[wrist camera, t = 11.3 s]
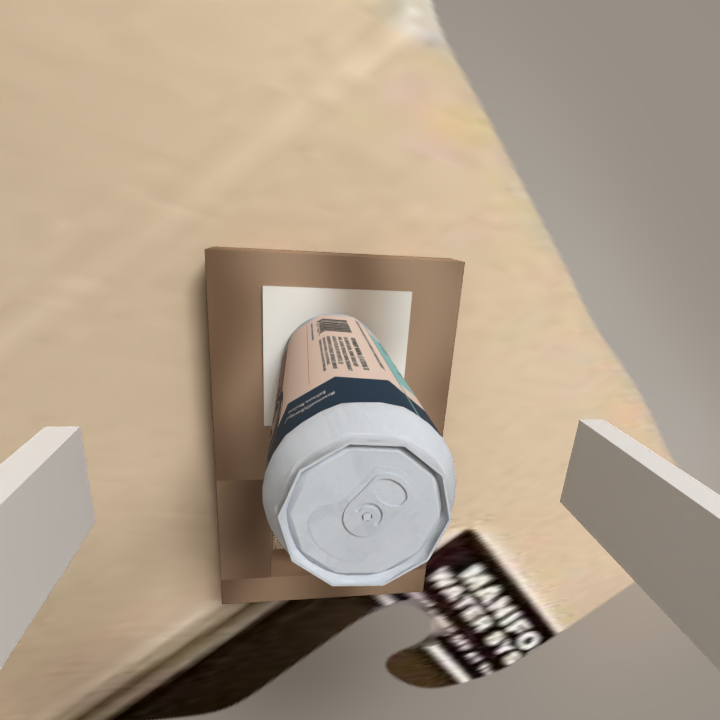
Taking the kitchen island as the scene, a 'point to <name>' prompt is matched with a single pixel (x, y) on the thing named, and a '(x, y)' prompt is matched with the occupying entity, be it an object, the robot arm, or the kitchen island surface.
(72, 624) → the kitchen island surface
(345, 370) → the beer can
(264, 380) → the pocket board
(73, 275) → the kitchen island surface
